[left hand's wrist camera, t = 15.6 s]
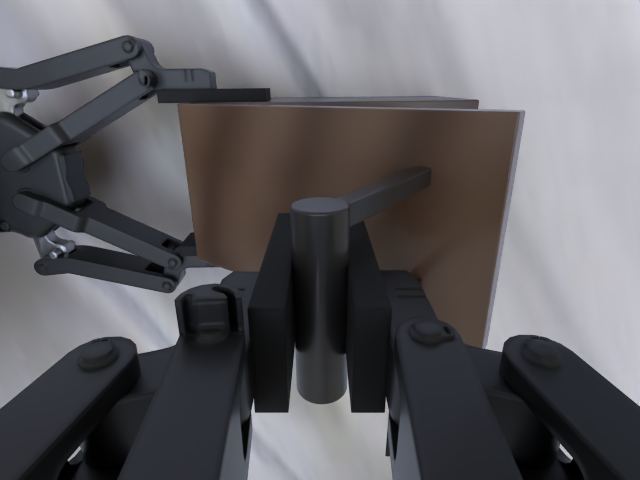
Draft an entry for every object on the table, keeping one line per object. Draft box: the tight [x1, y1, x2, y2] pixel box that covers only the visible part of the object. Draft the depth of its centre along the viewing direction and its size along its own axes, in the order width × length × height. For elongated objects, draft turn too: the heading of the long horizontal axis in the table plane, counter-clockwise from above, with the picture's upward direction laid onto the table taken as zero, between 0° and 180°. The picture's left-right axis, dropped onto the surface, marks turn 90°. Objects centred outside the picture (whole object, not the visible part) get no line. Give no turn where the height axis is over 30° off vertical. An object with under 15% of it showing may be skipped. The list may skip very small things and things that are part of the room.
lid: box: [178, 103, 525, 404], centre depth 17 cm, size 17×9×8 cm
